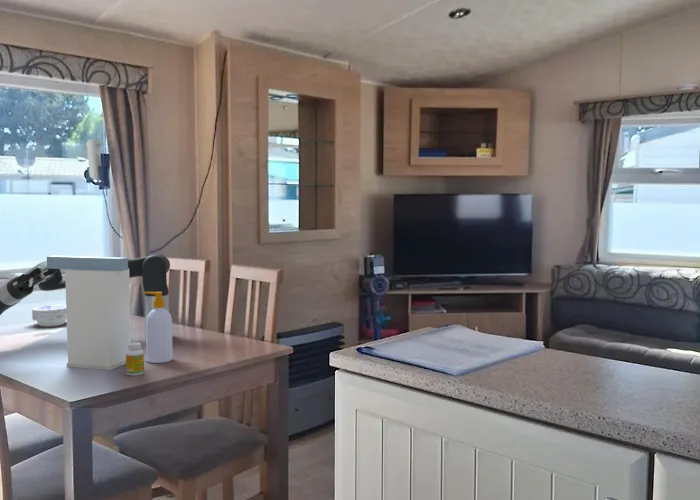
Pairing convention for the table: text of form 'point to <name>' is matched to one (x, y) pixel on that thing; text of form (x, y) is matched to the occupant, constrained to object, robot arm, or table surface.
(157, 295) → the soap bottle
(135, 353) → the supplement bottle
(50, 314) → the paper bowls
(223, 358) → the table surface
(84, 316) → the storage box
